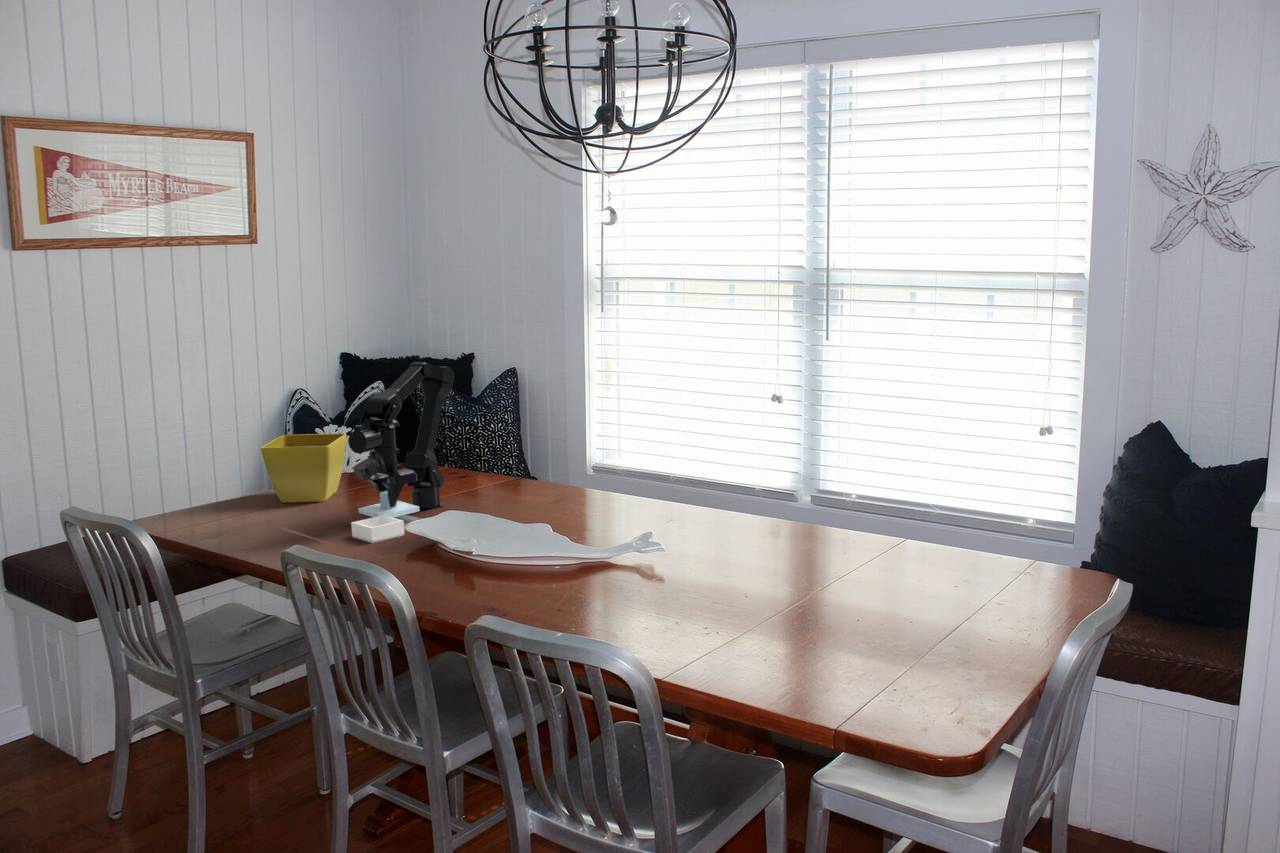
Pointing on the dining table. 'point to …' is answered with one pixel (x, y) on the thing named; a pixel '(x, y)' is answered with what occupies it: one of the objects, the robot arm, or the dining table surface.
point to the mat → (407, 518)
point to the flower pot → (305, 466)
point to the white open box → (377, 528)
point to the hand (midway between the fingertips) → (388, 505)
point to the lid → (388, 508)
